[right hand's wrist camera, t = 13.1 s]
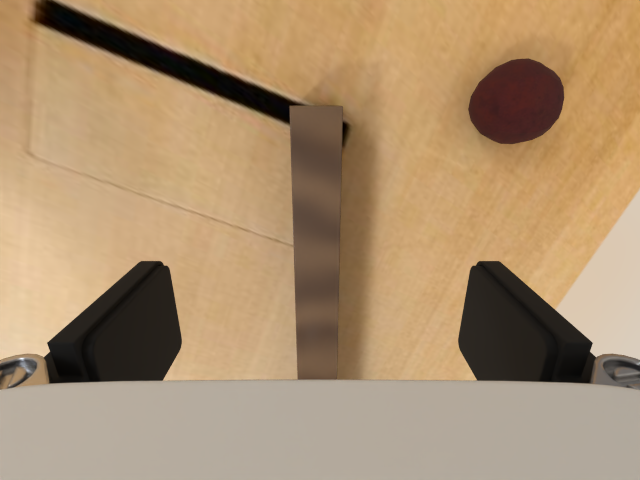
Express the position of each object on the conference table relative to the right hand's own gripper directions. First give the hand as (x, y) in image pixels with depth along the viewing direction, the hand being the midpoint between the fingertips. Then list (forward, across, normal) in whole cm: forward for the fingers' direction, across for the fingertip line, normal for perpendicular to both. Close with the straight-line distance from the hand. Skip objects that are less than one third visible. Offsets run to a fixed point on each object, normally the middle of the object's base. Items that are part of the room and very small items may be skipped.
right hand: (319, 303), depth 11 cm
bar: (+29, 0, +25) cm, 38 cm away
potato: (+29, -18, -6) cm, 35 cm away
